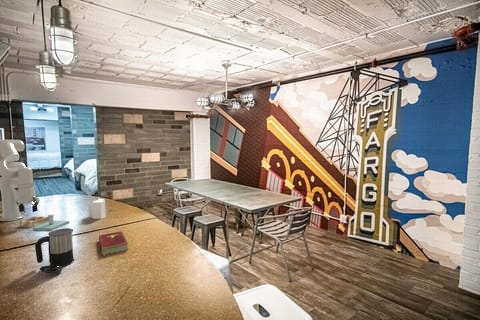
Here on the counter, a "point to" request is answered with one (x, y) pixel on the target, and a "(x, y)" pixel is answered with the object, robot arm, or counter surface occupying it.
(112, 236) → the hardcover book
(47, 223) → the lid with knob
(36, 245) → the milk frother
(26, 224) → the ring
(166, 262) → the counter surface
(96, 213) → the corner bracket
